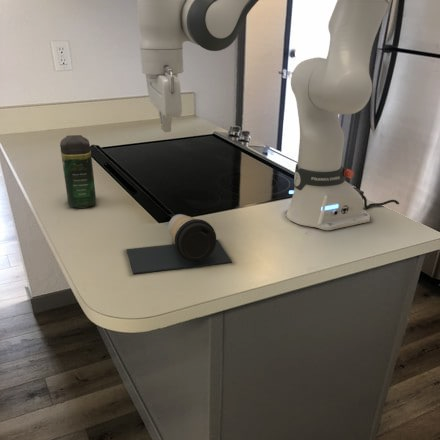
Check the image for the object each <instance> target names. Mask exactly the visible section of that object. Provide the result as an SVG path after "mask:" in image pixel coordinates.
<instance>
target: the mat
mask: <svg viewBox="0 0 440 440" xmlns="http://www.w3.org/2000/svg"><path fill="white" fill-rule="evenodd" d="M126 253H127V256H128V257H127V258H128V260H129V264H130V268H131V271H132V274H133V275H140V274H148V273H156V272H157V273H158V272H165V271H174V270H183V269H192V268H199V267H200V268H201V267H207V266H217V265H225V264H232V263H233V261H232V259H231V257H230V256H229V255H228V253H227V252H226V250H225V249H224V248H223V245H222V244H221V243H220V241H219V239H217V240H216V246H215V249H214V250H213V252H212V253H211V255H210V256H208V257H207V258H206V259H204V260H201V261H197V262H193V261H188V260H186V259H184V258H182V257H181V256H180V255H179V254H178V252H177V250H176V248H175V243H173V244H172V243H171V244H164V245H153V246H145V247H144V246H143V247H134V248H127V249H126Z"/></svg>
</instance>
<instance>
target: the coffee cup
mask: <svg viewBox="0 0 440 440" xmlns="http://www.w3.org/2000/svg"><path fill="white" fill-rule="evenodd" d="M167 226H168V227H167V229H168V232H169V234H170V237H171V239H172V241H173V244H175V248H176V250H177V252H178V254H179V255H180V256H181V257H182V258H184V259H186V260H188V261H193V262H197V261H201V260H204V259H206V258H207V257H208V256H210V255H211V253H212V252H213V250H214V249H215V246H216V240H218V239H217V233H216V231H215V229H214V227H213V226H212V225H211V223H210V222H208V221H206V220H203V219H199V218H194V217H192V216H189V215H186V214H182V213H179V214H175V215H174V216H172V217H171V219H170V220H169V222H168V225H167Z"/></svg>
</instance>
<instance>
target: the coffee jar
mask: <svg viewBox="0 0 440 440" xmlns="http://www.w3.org/2000/svg"><path fill="white" fill-rule="evenodd" d="M59 147H60V154H61V155H60V156H61V163H62V169H63V175H64V176H63V177H64V182H65V183H64V184H65V189H66V191H65V192H66V197H67V204H68V205H69V206H70V208H78V209H86V208H88V207H92V206H95V205H96V202H97V196H96V195H97V194H96V187H95V186H96V185H95V176H94V168H93V167H94V166H93V159H92V158H93V157H92V151H91V145H90V141H89V139H88V138H87V137H84V136H83V135H81V134H74V135H73V134H71V135H70V134H69V135H65V137H64V138H62V139H61V140H60V142H59Z"/></svg>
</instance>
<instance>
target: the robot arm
mask: <svg viewBox="0 0 440 440" xmlns="http://www.w3.org/2000/svg"><path fill="white" fill-rule="evenodd" d="M259 1H260V0H136V8H137V9H136V10H137V11H136V12H137V26H138V28H139V31H140V44H139V51H140V64H141V65H140V67H141V73H142V74H145V80H146V86H147V93H148V98H149V101H150V103H151V104H152V105H153V107H155V108H156V109H157V110H158V116H159V121H160V129H161V130H162V131H163V132H164V133H170V132H172V121H173V118H180V117H182V114H183V105H182V92H181V83H180V79H179V74H182V73H184V50H183V49H184V47H183V45H184V43H185V42H190V43H192V44H194V45H197V46H200V47H201V48H202V49H204V50H207V51H210V52H220V51H222V50H225V49H227V48H229V47H230V46H231V45H232V44H233V43H234V42H235V41H236V39H237V37H238V35H239V34H240V32H241V29H242V27H243V24H244V22H245V20H246V18H247V16H248V14H249V13H250V12H251V10H252V9H253V8H254V7H255V6H256V4H257V3H258V2H259ZM390 3H391V0H336V3H335V5H334V7H333V10H332V13H331V16H330V18H329V21H328V25H327V29H328V32H329V46H328V51H327V55H326V58H324V57H319V56H318V57H312V58H311V57H310V58H307V59H305V60H302V61H300V62H299V63H298V64H296V66H295V67H294V69H293V71H292V72H291V76H290V87H291V91H292V93H293V94H294V98H295V102H296V109H297V116H298V124H299V142H298V155H297V163H296V165H295V168H294V178H293V186H294V187H293V188H294V189H293V190H289V191H288V194H289V195H292V197H291V201H290V204H289V207H288V210H287V212H286V218H287V219H288V220H289V221H291V222H293V223H295V224H297V225H301V226H304V227H311V228H317V229H320V230H323V231H333V230H336V229H342V228H347V227H351V226H355V225H360V224H366V223H369V222H370V221H371V215H370V214H369V213H368V212H367V210H368V209H369V208H370V207H379V206H384V205H387V204H389V203H394V204H395V205H399V204H400V202H399V201H398V200H396V199H388V200H386V201H383V202H375V203H374V202H372V203H369V204H368V199H367V197H366V195H364V193H365V192H364V191H363V190H361V189H359V188H357V187H355V186H352V185H351V184H350V183H349V182H347V180H346V178H347V179H352V178H353V177H354V175H355V172H354V170H352V169H350V168H347V169H346V167H344V166H342V160H343V154H344V146H345V142H346V141H345V132H344V131H343V128H342V125H341V122H340V121H341V120H340V115H353V114H356V113H359V112H360V111H362V110H363V109H364V108H365V107H366V106H367V104H368V103H369V101H370V98H371V96H372V92H373V82H372V78H371V75H370V62H371V55H372V51H373V46H374V42H375V39H376V36H377V34H378V32H379V29H380V27H381V24H382V22H383V20H384V17H385V15H386V12H387V10H388V9H389V6H390ZM345 177H346V178H345ZM364 208H365V209H367V210H365V209H364Z"/></svg>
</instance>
